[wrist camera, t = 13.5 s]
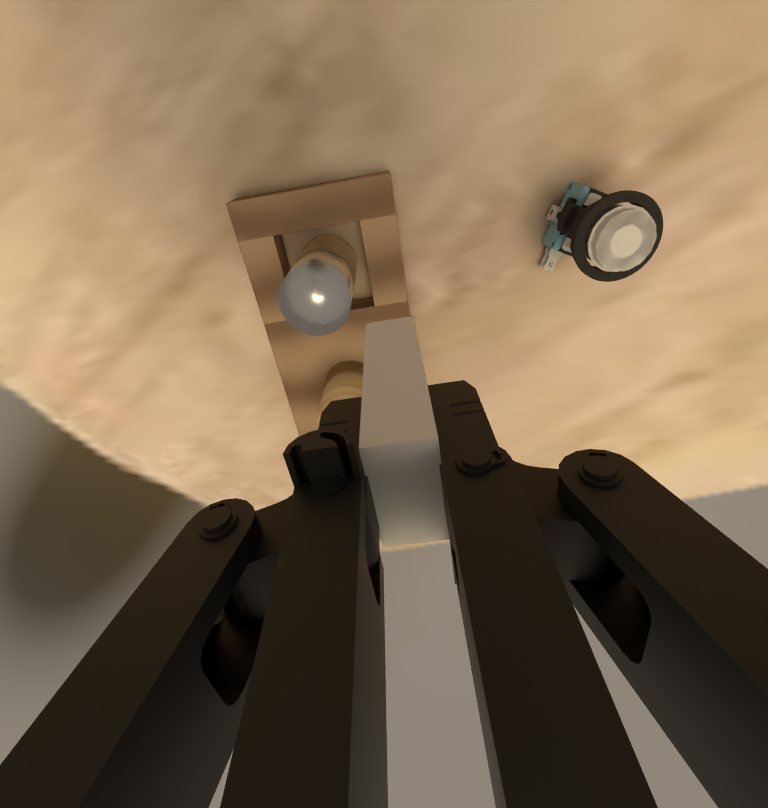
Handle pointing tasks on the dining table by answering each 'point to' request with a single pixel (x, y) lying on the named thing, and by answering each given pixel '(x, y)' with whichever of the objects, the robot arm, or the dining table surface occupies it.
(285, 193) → the jig
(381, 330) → the robot arm
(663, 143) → the dining table surface
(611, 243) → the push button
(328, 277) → the tan grey cylinder
